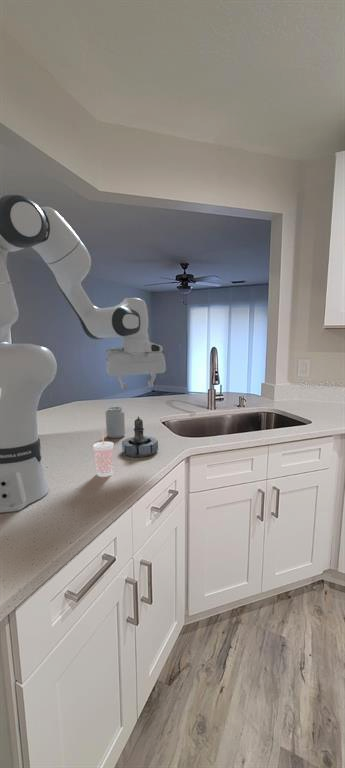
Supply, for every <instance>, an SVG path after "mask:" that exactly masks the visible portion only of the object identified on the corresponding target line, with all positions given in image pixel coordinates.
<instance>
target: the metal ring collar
mask: <svg viewBox="0 0 345 768" xmlns="http://www.w3.org/2000/svg"><path fill="white" fill-rule="evenodd" d="M133 438H134V436H133V437H128V438H126V439H124V440H122V441H121V450H122V454H123V455H124V456H126V457H130V458H147V457H150V456H154V455H156V454H157V453H158V450H159V440H158V439H156V438H155V437H152V436H145V435H144V438H147V439H148V440H147V443H146V444H142V445H134V444H132V442H131V439H133Z"/></svg>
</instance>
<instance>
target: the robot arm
mask: <svg viewBox="0 0 345 768" xmlns="http://www.w3.org/2000/svg"><path fill="white" fill-rule="evenodd" d="M27 248H32V249H33V250H34V251H36V252H37V254H38V255H39V256H40V258H42V260H43V261H44V262H45V264H46V265H47V266H48V268H49V269H50V270H51V272H52V274H53V275H54V277H55V282H56V285H57V287H58V289H59V290H60V292H61V294H62V295H63V297H64V298H65V300H66V301H67V302H68V305H69V306H70V307H71V309H72V310H73V312H74V313H75V314H76V316H77V318H78V320H79V322H80V324H81V328H82V330H83V331H84V333H85V335H86V336H87V337H88V338H90V339H92V340H102V339H115V338H122V347H110V348H108V349H107V350H106V352H105V360H106V361H107V362H106V374H107V375H108V376H110V377H114V376H115V377H116V376H117V380H118V381H119V383H120V386H121V387H120V388H121V389H122V390H124V389H127V382H124V381H123V379H124V376H132V375H133V376H135V375H150V380H147V387H148V388H150V387H151V388H153V387H154V381H155V380H156V377H157V374H164V373H165V372H166V371H167V365H166V364H167V363H166V358H165V357H166V356H165V355H164V354H163V346H162V345H161V344H160V345H159V344H156V343H154V342H150V337H149V333H148V328H149V314H148V307H147V303H146V301H145V300H144V299H142V298H140V297H139V298H138V297H130V296H129V297H125V298H124V299H123V300H122V302H120V303H119V304H117V305H114V306H110V307H102V308H101V307H97V306H95V305H94V304H93V303H92V301H91V300H90V297H89V296H88V294H87V293H86V291H85V290H84V288H83V286H82V281H84V280H85V278H86V277H87V275H88V274H89V272H90V270H91V266H92V257H91V255H90V252H89V251H88V249H87V247H86V246H85V244H84V242H82V240H81V238H80V237H79V236H78V235H77V233H76V232H75V231H74V229H73V228H72V226H70V224H69V223H68V222H67V221H66V220H65V219H64V217H62V216H61V214H59V212H58V211H57V210H55V209H54V208H52V207H51V206H41V207H40V206H39V205H38V204H37V203H36V202H34V201H33V200H31V199H30V198H28V197H26V196H24V195H20V194H7V195H3V196H2V197H0V513H10V512H11V513H12V512H18V511H20V510H23V509H24V508H25V507H27V506H29V505H30V504H32V503H34V502H37V501H38V500H40V499H42V498H43V497H44V496H46V495H47V494H48V492H49V486H48V484H47V481H46V478H45V475H44V471H43V466H42V462H41V460H42V457H43V455H42V445H41V439H40V438H39V433H38V406H39V403H40V399H41V397H42V394H43V391H44V390H45V389H46V388H47V387H48V385H50V384H51V383H52V382H53V381H54V379H55V378H56V375H57V370H58V364H57V360H56V356H55V355H54V353H53V352H52V351H51V350H50V349H49V348H47V347H44V346H41V345H37V344H33V343H12V342H11V329H12V326H13V325H14V324H15V323H17V320H18V319H19V314H20V312H19V311H20V310H19V308H18V304H17V300H16V297H15V292H14V289H13V285H12V282H11V278H10V277H11V276H10V274H9V271H8V269H7V265H8V264H7V258H8V254H9V252H11V253H12V252H18V251H21V250H24V249H27Z"/></svg>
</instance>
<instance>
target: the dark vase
mask: <svg viewBox="0 0 345 768" xmlns="http://www.w3.org/2000/svg"><path fill="white" fill-rule="evenodd" d="M143 424H144V423H143V419H141V418H140V416H137V418H135V420H134V428H133V431H134V436H133V437H134V438H133V439H131V442H132V444H134V445H142V444H146V443H147V440H148V439H147V438H144V436H145V435H144V430H145V428H144V425H143Z"/></svg>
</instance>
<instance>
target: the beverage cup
mask: <svg viewBox="0 0 345 768" xmlns="http://www.w3.org/2000/svg"><path fill="white" fill-rule="evenodd" d="M104 434H105V433H104V427H101V436H102V437H101V439H102V441H99V442H96V443H94V444H93V445H92V449H93V451H94V460H95V468H96V475H97V477H100V478H107V477H109V476H112V475H113V474H114V470H113V467H114V460H113V459H114V448H115V446H114V445H115V443H114V442H113V441H105V436H104Z"/></svg>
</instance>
